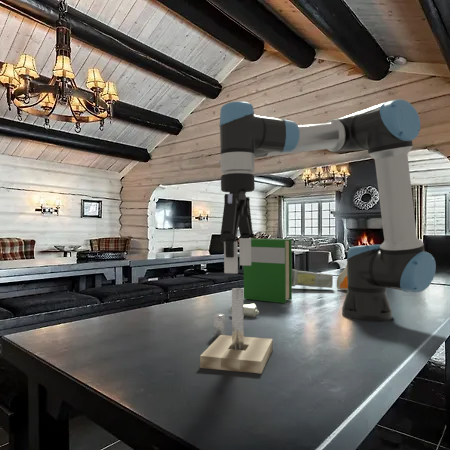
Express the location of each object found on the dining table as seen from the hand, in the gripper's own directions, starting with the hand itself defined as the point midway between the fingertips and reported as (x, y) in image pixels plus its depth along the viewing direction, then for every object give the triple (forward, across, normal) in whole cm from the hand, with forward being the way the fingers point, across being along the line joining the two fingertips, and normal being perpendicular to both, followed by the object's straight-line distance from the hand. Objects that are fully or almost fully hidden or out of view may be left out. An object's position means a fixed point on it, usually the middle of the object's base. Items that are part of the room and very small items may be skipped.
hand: (238, 269), depth 84 cm
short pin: (+20, -15, -9) cm, 27 cm away
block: (+22, -92, +11) cm, 95 cm away
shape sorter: (+22, -100, +33) cm, 107 cm away
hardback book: (+21, -67, -5) cm, 71 cm away
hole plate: (+20, 0, 0) cm, 20 cm away
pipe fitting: (+19, -36, -5) cm, 41 cm away
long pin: (+20, 0, 0) cm, 21 cm away
